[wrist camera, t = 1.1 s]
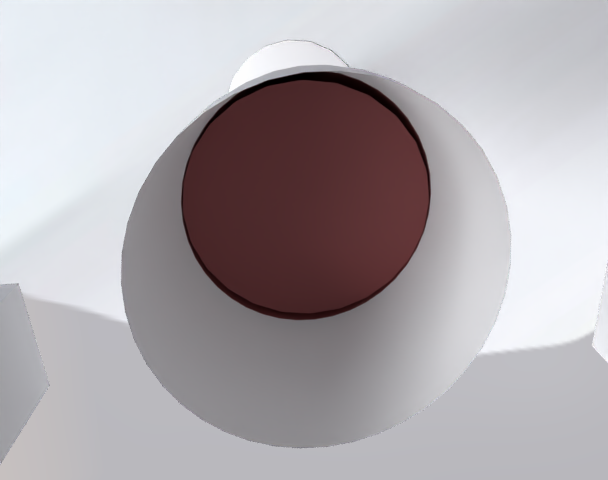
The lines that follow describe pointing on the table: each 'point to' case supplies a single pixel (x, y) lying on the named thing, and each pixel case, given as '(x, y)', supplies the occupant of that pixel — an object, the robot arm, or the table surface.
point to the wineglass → (315, 253)
